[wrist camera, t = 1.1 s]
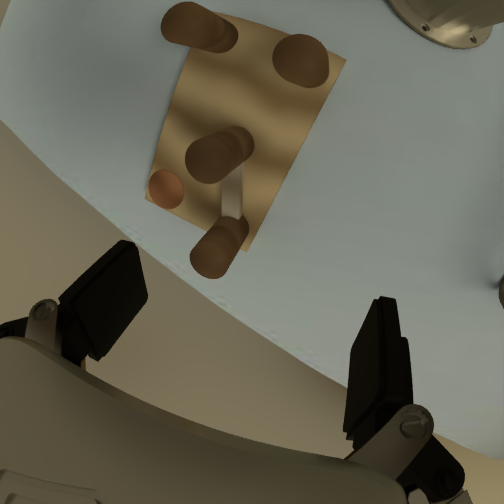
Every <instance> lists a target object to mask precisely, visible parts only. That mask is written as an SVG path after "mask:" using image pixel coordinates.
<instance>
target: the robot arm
mask: <svg viewBox="0 0 504 504" xmlns="http://www.w3.org/2000/svg"><path fill="white" fill-rule="evenodd" d="M387 1H388V3H389V4H390V5H391V7H392V8H393V10H394V11H395V12H396V13H397V14H398V16H399V17H400V18H401V19H402V20H403V21H404V22H405V23H406V24H407V25H409V26H410V27H411V28H412V29H413V30H415V31H416V32H417V33H419V34H420V35H422V36H423V37H425V38H427V39H428V40H430V41H432V42H434V43H436V44H439V45H442V46H444V47H448V48H452V49H463V50H464V49H470V48H474V47H478V46H480V45H481V44H483V43H484V42H485V41H486V40H487V39H488V38H489V36H490V34H491V31H492V27H493V25H495V24H498V23H502V22H504V0H387ZM422 27H423V28H424V29H425V31H424V30H423V29H422ZM470 39H471V40H470ZM471 41H472V42H471ZM58 299H59V301H60V304H59V305H58V304H57V303H56V301H54V300H52V299H44V300H41V301H39V302H38V303H36V304H35V305H34V306H33V307H32V309H31V310H30V313H29V316H28V317H25V318H21V319H18V320H13V321H9V322H6V323H3V324H2V325H0V504H473V503H472V501H471V499H470V496H469V494H468V491H467V490H465V491H464V490H463V488H462V486H463V484H464V481H465V473H464V469H463V467H462V466H461V465H460V463H459V462H458V461H457V460H456V459H455V458H454V457H453V456H452V455H451V454H450V453H449V452H448V451H447V450H446V449H445V448H444V446H443V445H442V444H441V443H440V442H439V441H438V440H437V439H436V438H435V437H434V436H433V435H432V433H433V429H434V421H433V418H432V416H431V414H430V412H429V411H428V410H427V409H426V408H424V407H423V406H421V405H417V404H413V385H412V372H411V362H410V352H409V344H408V340H407V338H406V337H401V331H400V323H399V316H398V309H397V303H396V299H394V298H389V297H384V296H380V297H379V299H374V300H373V302H372V304H371V307H370V309H369V311H368V314H367V316H366V318H365V320H364V322H363V325H362V327H361V329H360V331H359V333H358V335H357V337H356V339H355V341H354V343H353V345H352V348H351V352H350V365H349V378H348V389H347V399H346V408H345V416H344V424H343V432H346V433H347V436H346V440H353V449H354V451H352V452H351V453H350V454H349V455H348V456H347V457H345V458H344V459H340V458H335V457H329V456H324V455H319V454H314V453H308V452H303V451H298V450H292V449H288V448H283V447H279V446H274V445H271V444H266V443H262V442H258V441H254V440H250V439H247V438H243V437H240V436H236V435H233V434H229V433H226V432H223V431H220V430H216V429H213V428H211V427H207V426H205V425H202V424H199V423H196V422H193V421H191V420H188V419H185V418H183V417H180V416H178V415H175V414H173V413H170V412H168V411H165V410H163V409H160V408H158V407H156V406H154V405H151V404H149V403H147V402H144V401H142V400H140V399H138V398H136V397H134V396H132V395H130V394H128V393H126V392H124V391H122V390H120V389H118V388H116V387H114V386H112V385H110V384H108V383H106V382H104V381H103V380H101V379H99V378H97V377H95V376H94V375H92V374H90V373H88V372H87V371H86V364H85V357H86V356H87V354H88V356H89V357H90V358H92V359H94V360H96V361H99V360H100V359H101V358H102V357H104V356H105V355H106V354H107V353H108V352H109V350H110V349H111V348H112V346H113V345H114V344H115V342H116V341H117V340H118V338H119V337H120V336H121V334H122V333H123V332H124V330H125V329H126V328H127V326H128V325H129V324H130V322H131V321H132V320H133V318H134V317H135V316H136V315H137V313H138V312H139V311H140V310H141V308H142V307H143V306H144V305H145V303H146V302H147V299H148V293H147V288H146V284H145V280H144V276H143V271H142V266H141V261H140V256H139V251H138V248H137V247H136V245H135V243H133V242H130V241H126V240H120V241H119V242H117V243H116V244H115V245H114V246H113V247H112V248H111V249H109V250H108V251H107V252H106V253H105V254H104V255H103V256H102V257H101V258H99V259H98V260H97V261H96V262H95V263H94V264H93V265H92V266H91V267H90V268H89V269H88V270H86V271H85V272H84V273H83V274H82V275H81V276H80V277H79V278H78V279H77V280H76V281H75V282H74V283H73V284H72V285H71V286H70V287H69V288H68V289H67V290H66V291H65V292H64V293H63V294H62V295H61V296H60V297H59V298H58Z"/></svg>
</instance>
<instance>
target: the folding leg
mask: <svg viewBox="0 0 504 504" xmlns="http://www.w3.org/2000/svg"><path fill="white" fill-rule="evenodd" d="M253 151H254V139H253V137H252V135H251V134H250V133H249V132H248V131H247V130H246V129H244V128H242V127H238V126H233V127H229V128H226V129H224V130H221V131H218V132H216V133H213V134H210V135H208V136H205V137H202V138H200V139H197V140H195V141H194V142H192V143H191V144H190V145H189V147H188V148H187V151H186V154H185V165H186V168H187V170H188V172H189V174H190V175H191V176H192V177H193V178H194V179H195V180H197V181H198V182H200V183H203V184H215V183H217V182H219V181H221V180H222V215H221V216H220V217H219V219H218V220H217V221H216V222H215V223H214V224H213V226H212V227H211V228H210V229H209V230H208V231H207V233H206V234H205V235H204V236H203V237H202V238H201V240H200V241H199V242H198V243H197V244H196V246H195V247H194V248H193V249H192V251H191V253H190V262H191V265H192V266H193V268H194V269H195V270H196V271H197V272H198V273H199V274H200V275H202V276H204V277H206V278H209V279H218V278H220V277H222V276H224V274H225V273H226V272H227V270H228V268H229V266H230V265H231V263H232V261H233V260H234V258H235V256H236V254H237V253H238V251H239V249H240V248H241V246H242V244H243V243H244V241H245V239H246V238H247V236H248V234H249V224H248V222H247V220H246V219H245V218H244V217H243V216H242V201H243V179H244V161H246V160H247V159H248V158H249V157H250V156H251V155H252V153H253Z"/></svg>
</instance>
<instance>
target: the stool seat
mask: <svg viewBox="0 0 504 504" xmlns="http://www.w3.org/2000/svg"><path fill="white" fill-rule="evenodd" d="M161 32H162V35H163V36H164V38H165V39H166V40H168V41H169V42H172V43H176V44H181V45H185V46H189V47H191V49H190V51H189V54H188V56H187V59H186V61H185V64H184V67H183V69H182V72H181V75H180V77H179V80H178V83H177V86H176V88H175V91H174V94H173V97H172V100H171V103H170V106H169V109H168V112H167V116H166V119H165V122H164V125H163V129H162V132H161V135H160V139H159V143H158V146H157V150H156V153H155V157H154V161H153V165H152V169H151V173H150V177H149V181H148V186H147V190H146V195H145V199H146V200H148V201H150V202H152V203H154V204H156V205H157V206H159V207H161V208H163V209H165V210H167V211H169V212H171V213H173V214H175V215H176V216H178V217H180V218H182V219H184V220H186V221H188V222H190V223H192V224H194V225H196V226H197V227H199V228H201V229H203V230H205V231H208V230H209V229H210V228H211V227H212V226H213V224H214V223H215V222H216V221H217V220H218V219H219V217H220V216H221V215H222V180H221V181H219V182H217V183H215V184H203V183H200V182H198V181H197V180H195V179H194V178H193V177H192V176H191V175H190V174H189V172H188V170H187V168H186V165H185V154H186V151H187V148H188V147H189V145H190V144H191V143H192V142H194V141H195V140H197V139H200V138H202V137H205V136H208V135H210V134H213V133H216V132H218V131H221V130H224V129H226V128H229V127H233V126H238V127H242V128H244V129H246V130H247V131H248V132H249V133H250V134H251V135H252V137H253V139H254V151H253V153H252V155H251V156H250V157H249V158H248V159H247V160H246V161H244V179H243V201H242V216H243V217H244V218H245V219H246V220H247V222H248V224H249V234H248V236H247V238H246V239H245V241H244V243H243V244H242V246H241V248H240V249H241V250H243V251H245V252H247V251H248V249H249V247H250V245H251V243H252V241H253V239H254V237H255V235H256V233H257V231H258V230H259V228H260V226H261V224H262V222H263V220H264V218H265V216H266V214H267V212H268V210H269V208H270V206H271V204H272V202H273V200H274V198H275V197H276V195H277V193H278V191H279V189H280V187H281V185H282V183H283V181H284V179H285V177H286V175H287V173H288V171H289V170H290V168H291V166H292V164H293V162H294V160H295V158H296V156H297V154H298V152H299V150H300V148H301V146H302V144H303V143H304V141H305V139H306V137H307V135H308V133H309V131H310V129H311V127H312V125H313V123H314V121H315V120H316V118H317V116H318V114H319V112H320V110H321V108H322V106H323V104H324V102H325V100H326V98H327V97H328V95H329V93H330V91H331V89H332V87H333V85H334V83H335V81H336V79H337V77H338V76H339V74H340V72H341V70H342V68H343V66H344V64H345V62H346V59H344V58H342V57H340V56H338V55H336V54H334V53H332V52H329V51H327V50H326V49H325V47H324V46H323V45H322V43H321V42H319V41H318V40H317V39H315V38H313V37H311V36H308V35H304V34H295V35H290V34H287V33H284V32H281V31H279V30H276V29H273V28H270V27H267V26H264V25H261V24H258V23H255V22H251V21H248V20H244V19H241V18H237V17H233V16H229V15H225V14H221V13H217V12H212V11H210V10H208V9H206V8H204V7H202V6H200V5H198V4H196V3H194V2H182V3H179V4H176V5H174V6H173V7H172V8H170V9H169V10H168V11H167V12H166V14H165V15H164V17H163V19H162V22H161Z"/></svg>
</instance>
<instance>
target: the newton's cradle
mask: <svg viewBox="0 0 504 504" xmlns="http://www.w3.org/2000/svg"><path fill="white" fill-rule="evenodd" d="M499 300H500V303H501V304H502V306H503V308H504V279H503V280H502V282H501V284H500V287H499Z"/></svg>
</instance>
